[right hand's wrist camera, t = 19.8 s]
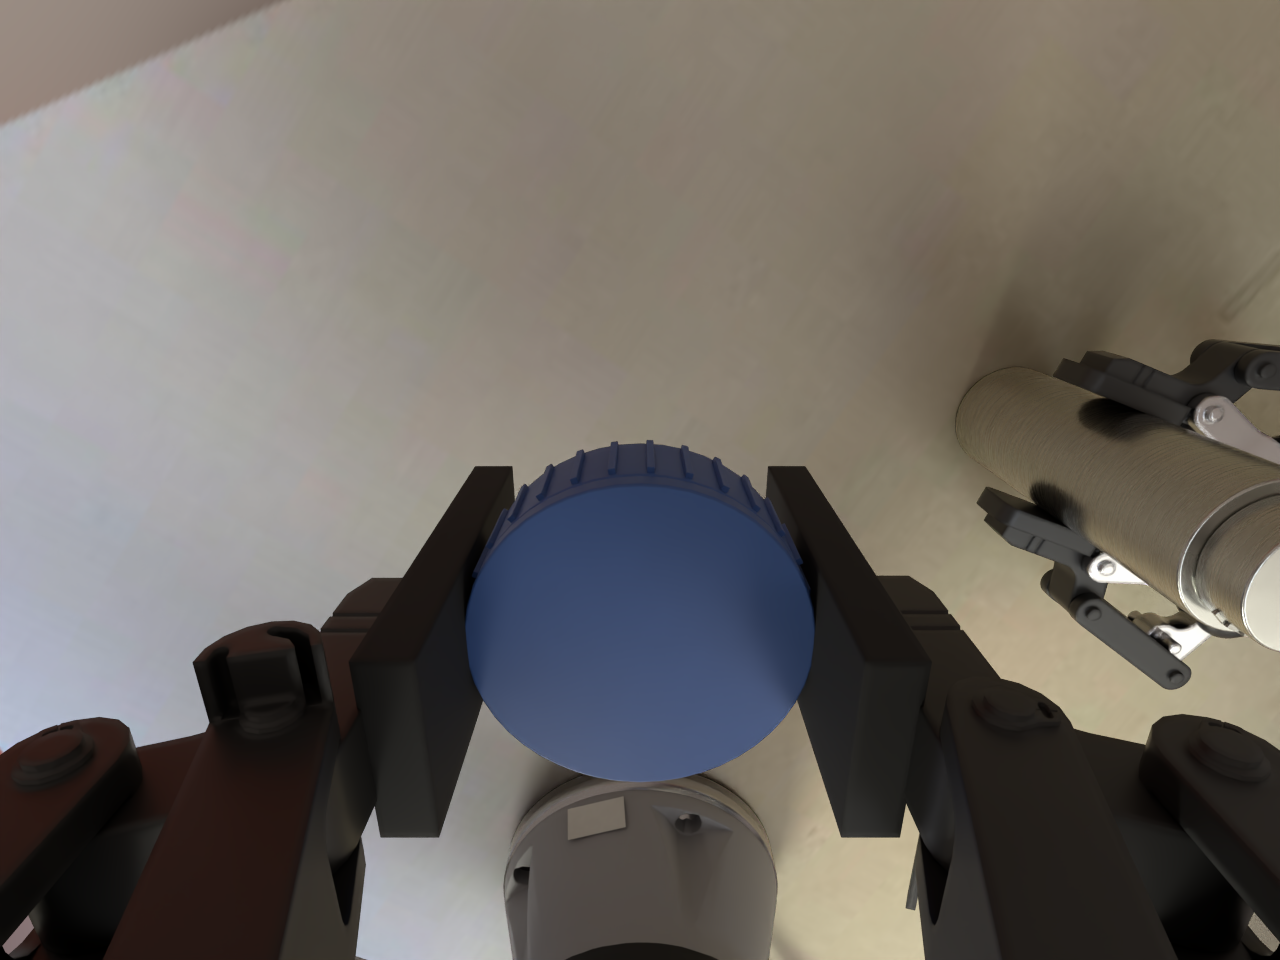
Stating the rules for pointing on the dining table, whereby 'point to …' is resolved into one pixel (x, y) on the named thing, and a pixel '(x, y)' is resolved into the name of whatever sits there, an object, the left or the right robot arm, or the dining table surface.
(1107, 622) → the left robot arm
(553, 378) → the dining table surface
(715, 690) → the lid
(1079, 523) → the beige bottle
